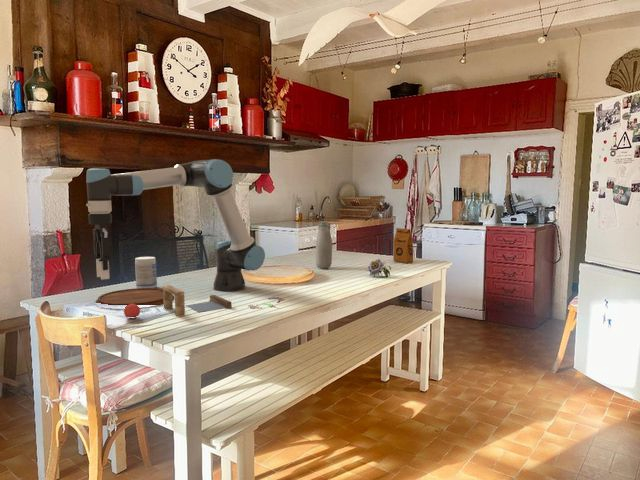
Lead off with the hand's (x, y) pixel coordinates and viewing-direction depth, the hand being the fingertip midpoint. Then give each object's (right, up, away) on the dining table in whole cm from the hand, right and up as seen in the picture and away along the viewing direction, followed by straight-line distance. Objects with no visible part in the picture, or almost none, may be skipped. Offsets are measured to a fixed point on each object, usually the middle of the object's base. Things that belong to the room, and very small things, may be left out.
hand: (103, 277), depth 174 cm
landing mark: (+31, -14, +26) cm, 43 cm away
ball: (+7, -13, +7) cm, 17 cm away
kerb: (+36, -14, +30) cm, 48 cm away
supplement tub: (-6, -10, +61) cm, 62 cm away
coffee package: (+132, -1, +140) cm, 193 cm away
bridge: (+20, -15, +17) cm, 31 cm away
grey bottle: (+80, -4, +116) cm, 141 cm away
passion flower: (+110, -7, +92) cm, 144 cm away
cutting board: (-2, -13, +37) cm, 39 cm away
